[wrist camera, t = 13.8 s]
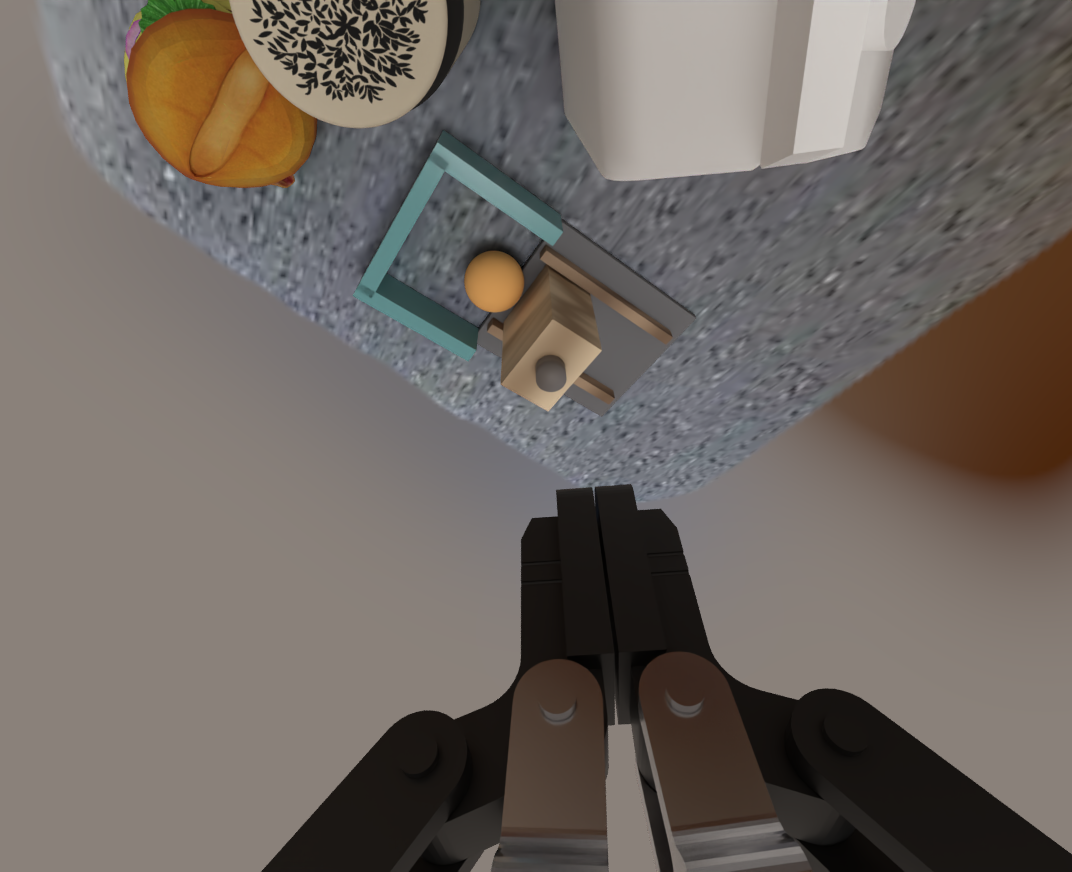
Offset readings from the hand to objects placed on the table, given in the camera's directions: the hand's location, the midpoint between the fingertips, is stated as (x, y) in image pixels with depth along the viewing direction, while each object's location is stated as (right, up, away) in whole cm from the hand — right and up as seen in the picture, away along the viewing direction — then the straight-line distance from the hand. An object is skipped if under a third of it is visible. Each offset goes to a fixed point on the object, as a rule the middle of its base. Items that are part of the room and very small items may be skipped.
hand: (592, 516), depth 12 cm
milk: (+6, +28, +23) cm, 37 cm away
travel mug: (-8, +28, +23) cm, 37 cm away
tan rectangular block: (0, +12, +34) cm, 36 cm away
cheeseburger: (-20, +24, +25) cm, 40 cm away
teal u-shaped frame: (-7, +16, +32) cm, 36 cm away
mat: (+3, +11, +36) cm, 38 cm away
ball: (-4, +13, +32) cm, 34 cm away
